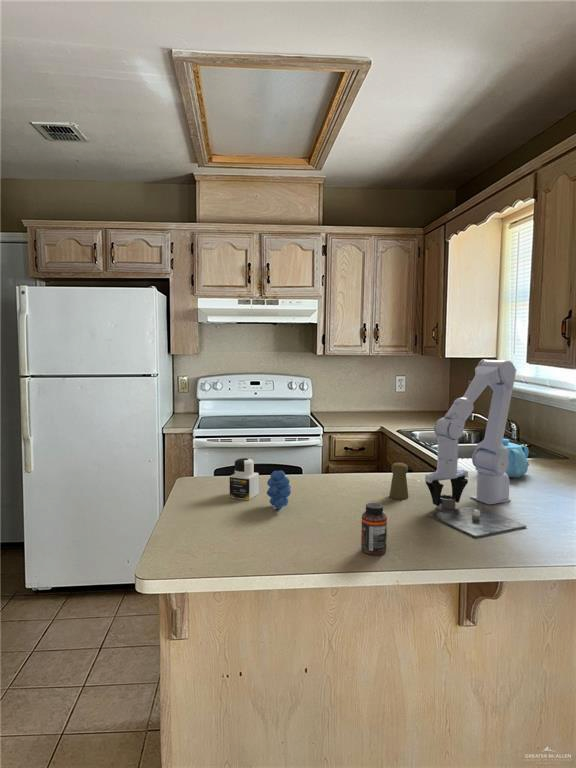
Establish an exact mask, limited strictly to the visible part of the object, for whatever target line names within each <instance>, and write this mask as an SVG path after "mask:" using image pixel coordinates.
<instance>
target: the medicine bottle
mask: <svg viewBox="0 0 576 768" xmlns="http://www.w3.org/2000/svg"><path fill="white" fill-rule="evenodd" d="M254 463H255V462H254V460H253V459H251V458H248V457H247V458H246V457H245V458H244V457H243V458H238V459H236V460H235V461H234V473H233V474H231V475H229V498H230V497H232V498H231V499H236V498H238V500H244V499H246V500H245V501H250V500H252V499H253V498H255V497H256V496H258V495H259V494H260V490H259V489H260V485H259V484H260V483H259V482H260V481H259V478H260V477H259V476H260V474H259V472H254V470H255V469H254V467H255V465H254ZM257 494H258V495H257ZM254 496H255V497H254ZM251 498H252V499H251Z"/></svg>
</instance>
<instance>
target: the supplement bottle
mask: <svg viewBox="0 0 576 768" xmlns="http://www.w3.org/2000/svg"><path fill="white" fill-rule="evenodd" d="M387 532H388V517H387V515H386V513H384V505H383V504H381V503H379V502H368V503H366V504H365V511H364V512H363V513H362V515H361V539H360V540H361V541H360V545H361V547H360V548H361V551H362V552H364V554H367V555H370V556H381V555H384V554H385V553H386V552H387V539H388V537H387V534H388V533H387Z"/></svg>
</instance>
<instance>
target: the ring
mask: <svg viewBox="0 0 576 768" xmlns="http://www.w3.org/2000/svg"><path fill="white" fill-rule="evenodd" d="M456 503H457V502H456V497H454V496H452V494H444V493H441V497H440V505H439V506H436V509H437V510H439V511H440V512H443V511H448V510H454V509H456Z"/></svg>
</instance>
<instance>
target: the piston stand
mask: <svg viewBox="0 0 576 768" xmlns="http://www.w3.org/2000/svg"><path fill="white" fill-rule="evenodd" d="M428 517H430V518H432V519H434V520H436V521H438V522H441V523H442V524H444V525H446V526H448V527H451V528H453V529H456V530H457V531H458V532H459V531H460V532H462V533H463V534H465V535H467V534H468V535H467V536H469V535H470V537H471V536H472V537H471V538H474V539H479V538H478V537H480V538H483V537H488V536H492V535H493V536H494V535H498V534H503V533H507V532H508V533H509V532H512V531H513V532H514V531H517V530H523V529H526V528H527V525H525V524H523V523H520V522H518V521H516V520H514V519H511V518H508V517H506V516H503V515H502V514H498V513H496V512H493V511H491V510H489V509H486V508H484V507H481V506H479V505H472V506H466V507H462V508H461V507H460V508H455V509H454V510H448V511H437V512H432V513H428Z"/></svg>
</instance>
